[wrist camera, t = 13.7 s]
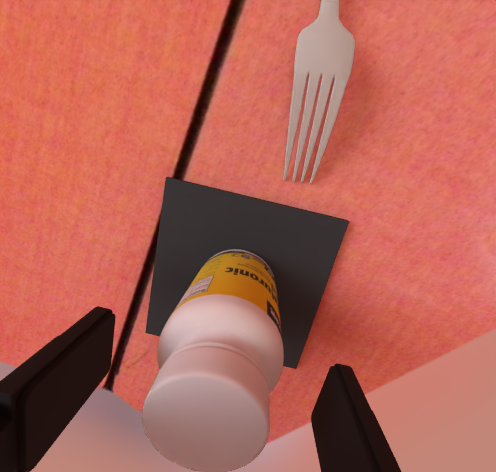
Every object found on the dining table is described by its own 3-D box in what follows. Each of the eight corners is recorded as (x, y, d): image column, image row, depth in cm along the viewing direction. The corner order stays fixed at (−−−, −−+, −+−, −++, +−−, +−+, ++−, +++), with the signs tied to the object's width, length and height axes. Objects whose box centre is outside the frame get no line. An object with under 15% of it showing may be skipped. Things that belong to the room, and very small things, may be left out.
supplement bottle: (291, 288, 16) (330, 445, 7) (234, 329, 18) (201, 512, 8) (240, 230, 16) (206, 321, 6) (183, 278, 17) (80, 416, 7)
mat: (295, 365, 19) (296, 369, 18) (147, 329, 19) (145, 333, 18) (347, 220, 15) (349, 221, 15) (168, 176, 15) (165, 177, 15)
